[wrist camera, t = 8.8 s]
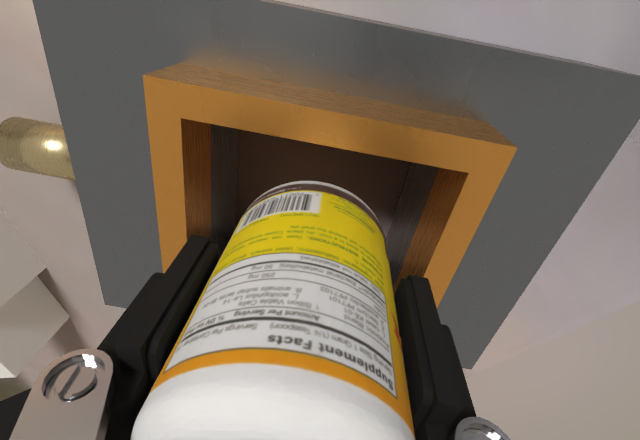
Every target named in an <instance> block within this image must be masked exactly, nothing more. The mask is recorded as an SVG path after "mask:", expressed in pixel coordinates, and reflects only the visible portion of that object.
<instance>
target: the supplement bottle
mask: <svg viewBox="0 0 640 440" xmlns="http://www.w3.org/2000/svg"><path fill="white" fill-rule="evenodd" d="M401 342H402V340H401V337H400V335H399V327H398V319H397V314H396V306H395V301H394V292H393V287H392V280H391V273H390V266H389V259H388V252H387V247H386V241H385V236H384V233H383V230H382V227H381V225H380V223H379V221H378V219H377V217H376V216H375V214H374V213H373V211H372V210H371V209H370V208H369V207H368V206H367V204H365V203H364V202H363V201H362V200H361V199H360V198H358V197H357V196H356V195H354V194H353V193H351V192H349V191H347V190H345V189H343V188H341V187H339V186H336V185H333V184H330V183H325V182H319V181H295V182H290V183H286V184H282V185H279V186H277V187H274V188H272V189H270V190H268V191H267V192H265V193H263V194H262V195H261V196H259V197H258V198H257V199H256V200H255V201H254V202H253V203H252V204H251V205H250V206H249V207H248V209H247V210H246V211H245V213H244V215H243V216H242V218H241V220H240V222H239V224H238V226H237V227H236V229H235V231H234V233H233V235H232V237H231V239H230V241H229V242H228V244H227V246H226V248H225V250H224V252H223V254H222V256H221V258H220V259H219V261H218V263H217V265H216V267H215V269H214V271H213V273H212V274H211V276H210V278H209V280H208V282H207V284H206V286H205V288H204V290H203V292H202V294H201V296H200V298H199V300H198V302H197V304H196V306H195V307H194V309H193V311H192V313H191V315H190V317H189V319H188V321H187V323H186V325H185V327H184V328H183V330H182V332H181V334H180V336H179V338H178V340H177V342H176V344H175V346H174V348H173V349H172V351H171V353H170V355H169V357H168V359H167V361H166V363H165V365H164V367H163V368H162V370H161V372H160V374H159V376H158V378H157V379H156V381H155V383H154V385H153V387H152V389H151V391H150V393H149V395H148V397H147V399H146V401H145V403H144V405H143V406H142V408H141V410H140V412H139V414H138V416H137V418H136V421H135V423H134V426H133V430H132V434H131V440H415V433H414V427H413V420H412V413H411V407H410V400H409V393H408V387H407V380H406V373H405V366H404V357H403V352H402V344H401Z"/></svg>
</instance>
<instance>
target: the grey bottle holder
mask: <svg viewBox="0 0 640 440" xmlns="http://www.w3.org/2000/svg"><path fill="white" fill-rule="evenodd" d="M33 4H34V9H35V13H36V17H37V21H38V25H39V29H40V34H41V38H42V42H43V46H44V50H45V55H46V59H47V63H48V67H49V71H50V76H51V80H52V84H53V88H54V92H55V97H56V101H57V105H58V109H59V113H60V118H61V122H62V125H58V124H53V123H47V122H42V121H37V120H32V119H26V118H21V117H11V118H8V119H6V120H4V121H3V122H2V123H1V124H0V162H1V163H2V164H3V165H4V166H6V167H8V168H11V169H15V170H21V171H26V172H31V173H37V174H42V175H48V176H53V177H58V178H64V179H69V180H75V181H76V185H77V189H78V193H79V197H80V201H81V206H82V210H83V214H84V218H85V222H86V227H87V231H88V235H89V239H90V243H91V248H92V252H93V256H94V260H95V264H96V269H97V273H98V277H99V281H100V285H101V290H102V294H103V298H104V302H105V305H111V306H117V307H122V308H128V307H129V305H130V304H131V303H132V301H133V300H134V298H135V297H136V296H137V294H138V293H139V292H140V290H141V289H142V288H143V286H144V285H145V284H146V282H147V281H148V280H149V278H150V277H151V276H152V275H153V274H154V273H156V272H159V273H165V272H166V270H167V269H168V268H169V266H170V265H171V263H172V262H173V260H174V259H175V258H176V256H177V255H178V253H179V252H180V251H181V249H182V248H183V246H184V245H185V243H186V242H187V241H188V239H189V238H190V237H191V235H199V236H204V237H209V238H212V242H213V243H216V244H217V245H218V261H219V259H220V258H221V256H222V254H223V252H224V250H225V248H226V246H227V244H228V242H229V241H230V239H231V237H232V235H233V233H234V231H235V220H236V197H237V173H238V150H239V129H241V130H246V131H251V132H256V133H262V134H267V135H272V136H277V137H283V138H288V139H293V140H298V141H304V142H309V143H314V144H319V145H325V146H330V147H335V148H340V149H345V150H351V151H356V152H361V153H366V154H372V155H377V156H382V157H387V158H393V159H398V160H403V161H408V162H412V163H411V166H410V169H409V172H408V175H407V178H406V181H405V184H404V187H403V190H402V193H401V196H400V199H399V202H398V205H397V207H396V210H395V213H394V216H393V219H392V222H391V225H390V228H389V231H388V234H387V237H386V240H385V241H386V247H387V252H388V259H389V266H390V273H391V280H392V287H393V292H394V295H395V292H396V290H397V287H398V284H399V282H400V280H401V279H402V278H405V279H406V278H407V276H408V275H414V276H419V277H425V278H428V280H429V282H430V286H431V290H432V293H433V297H434V301H435V304H436V308H437V311H438V315H439V319H440V322H441V324H443V325H447V326H448V327H449V328H450V331H451V333H452V337H453V340H454V343H455V347H456V350H457V353H458V357H459V360H460V363H461V367H462V368H466V369H472V368H473V366H474V365H475V363H476V362H477V360H478V359H479V357H480V356H481V354H482V353H483V351H484V350H485V348H486V347H487V345H488V344H489V342H490V341H491V339H492V338H493V336H494V335H495V333H496V332H497V330H498V329H499V327H500V326H501V324H502V323H503V321H504V320H505V318H506V317H507V315H508V314H509V312H510V311H511V309H512V308H513V306H514V305H515V303H516V302H517V300H518V299H519V297H520V296H521V294H522V293H523V292H524V290H525V289H526V287H527V286H528V284H529V283H530V281H531V280H532V278H533V277H534V275H535V274H536V272H537V271H538V269H539V268H540V266H541V265H542V263H543V262H544V260H545V259H546V257H547V256H548V254H549V253H550V251H551V250H552V248H553V247H554V245H555V244H556V242H557V241H558V239H559V238H560V236H561V235H562V233H563V232H564V230H565V229H566V227H567V226H568V224H569V223H570V221H571V220H572V218H573V217H574V216H575V214H576V213H577V211H578V210H579V208H580V207H581V205H582V204H583V202H584V201H585V199H586V198H587V196H588V195H589V193H590V192H591V190H592V189H593V187H594V186H595V184H596V183H597V181H598V180H599V178H600V177H601V175H602V174H603V172H604V171H605V169H606V168H607V166H608V165H609V163H610V162H611V160H612V159H613V157H614V156H615V154H616V153H617V151H618V150H619V148H620V147H621V145H622V144H623V142H624V141H625V140H626V138H627V137H628V135H629V134H630V132H631V131H632V129H633V128H634V126H635V125H636V123H637V122H638V120H639V119H640V76H639V75H635V74H630V73H626V72H622V71H618V70H614V69H609V68H605V67H601V66H597V65H592V64H588V63H583V62H578V61H573V60H568V59H563V58H558V57H553V56H548V55H543V54H538V53H533V52H528V51H523V50H518V49H513V48H508V47H503V46H498V45H493V44H488V43H483V42H478V41H473V40H468V39H463V38H458V37H453V36H448V35H443V34H438V33H433V32H428V31H423V30H418V29H413V28H408V27H403V26H398V25H393V24H388V23H383V22H378V21H373V20H369V19H364V18H359V17H354V16H349V15H344V14H339V13H334V12H329V11H324V10H319V9H314V8H309V7H304V6H299V5H294V4H289V3H284V2H279V1H274V0H33Z"/></svg>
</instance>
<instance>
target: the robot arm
mask: <svg viewBox="0 0 640 440" xmlns="http://www.w3.org/2000/svg"><path fill="white" fill-rule="evenodd" d="M217 263H218V245H217V244H216V243H213V242H212V238H209V237H204V236H199V235H191V237H190V238H189V239H188V241H187V242H186V243H185V245H184V246H183V248H182V249H181V251H180V252H179V253H178V255H177V256H176V258H175V259H174V260H173V262H172V263H171V265H170V266H169V268H168V269H167V270H166V272H165V273H159V272H156V273H154V274H153V275H152V276H151V277H150V278H149V280H148V281H147V282H146V284H145V285H144V286H143V288H142V289H141V290H140V292H139V293H138V294H137V296H136V297H135V298H134V300H133V301H132V303H131V304H130V305H129V307H128V308H127V309H126V311H125V312H124V313H123V315H122V316H121V317H120V319H119V320H118V321H117V323H116V324H115V325H114V327H113V328H112V329H111V331H110V332H109V333H108V335H107V336H106V337H105V339H104V340H103V341H102V343H101V344H100V345H99V347H98V348H97V349H80V350H75V351H72V352H69V353H67V354H64V355H62V356H60V357H59V358H57V359H55V360H54V361H52V362H51V363H50V364H48V365H47V366H46V367H45V368H44V369H43V370H42V371H41V372H40V374H39V376H38V377H37V379H36V380H35V382H34V384H33V387H32V388H31V389H28V390H26V391H24V392H21V393H19V394H17V395H14V396H12V397H10V398H7V399H5V400H3V401H0V440H131V434H132V430H133V426H134V423H135V421H136V418H137V416H138V414H139V412H140V410H141V408H142V406H143V405H144V403H145V401H146V399H147V397H148V395H149V393H150V391H151V389H152V387H153V385H154V383H155V381H156V379H157V378H158V376H159V374H160V372H161V370H162V368H163V367H164V365H165V363H166V361H167V359H168V357H169V355H170V353H171V351H172V349H173V348H174V346H175V344H176V342H177V340H178V338H179V336H180V334H181V332H182V330H183V328H184V327H185V325H186V323H187V321H188V319H189V317H190V315H191V313H192V311H193V309H194V307H195V306H196V304H197V302H198V300H199V298H200V296H201V294H202V292H203V290H204V288H205V286H206V284H207V282H208V280H209V278H210V276H211V274H212V273H213V271H214V269H215V267H216V265H217ZM394 301H395V306H396V314H397V319H398V327H399V335H400V337H401V340H402V342H401V344H402V352H403V357H404V366H405V373H406V380H407V387H408V393H409V400H410V407H411V413H412V420H413V427H414V433H415V440H510V439H509V437H508V436H507V435H506V434H505V433H504V432H503V431H502V430H501V429H500V428H499V427H498V426H496V425H495V424H493V423H491V422H490V421H488V420H485V419H483V418H480V417H476V414H475V410H474V407H473V404H472V400H471V397H470V393H469V390H468V387H467V383H466V380H465V377H464V373H463V370H462V367H461V363H460V360H459V357H458V353H457V350H456V347H455V343H454V340H453V337H452V333H451V331H450V328H449V327H448V326H447V325H443V324H441V322H440V319H439V315H438V311H437V308H436V304H435V301H434V297H433V293H432V290H431V286H430V282H429V280H428V278H425V277H419V276H414V275H408V276H407V278H406V279H405V278H402V279H401V280H400V282H399V284H398V287H397V290H396V292H395V295H394Z"/></svg>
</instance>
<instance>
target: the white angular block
mask: <svg viewBox="0 0 640 440" xmlns="http://www.w3.org/2000/svg"><path fill="white" fill-rule="evenodd" d="M45 268H46V267H45V265H44V264H43V263H42V261H41V260H40V259H39V257H38V256H37V255H36V254H35V252H34V251H33V250H32V248H31V247H30V246H29V244H28V243H27V242H26V241H25V239H24V238H23V237H22V235H21V234H20V233H19V232H18V230H17V229H16V228H15V226H14V225H13V224H12V222H11V221H10V220H9V219H8V217H7V216H6V215H5V213H4V212H3V211H2V209H1V208H0V378H10V377H16V376H17V375H18V374H19V373H20V372H21V371H22V370H23V369H24V367H25V366H26V365H27V364H28V363H29V362H30V361H31V360H32V359H33V358H34V356H35V355H36V354H37V353H38V352H39V351H40V350H41V349H42V348H43V346H44V345H45V344H46V343H47V342H48V341H49V340H50V339H51V338H52V336H53V335H54V334H55V333H56V332H57V331H58V330H59V329H60V328H61V327H62V325H63V324H64V323H65V322H66V321H67V320H68V319H69V318H70V316H69V315H68V314H67V313H66V311H65V310H64V309H63V308H62V306H61V305H60V304H59V303H58V301H57V300H56V299H55V298H54V296H53V295H52V294H51V293H50V291H49V290H48V289H47V288H46V286H45V285H44V284H43V283H42V281H41V280H40V279H39V278H38V276H37V275H38V274H40V273H41V272H42V271H43V270H44V269H45Z"/></svg>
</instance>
